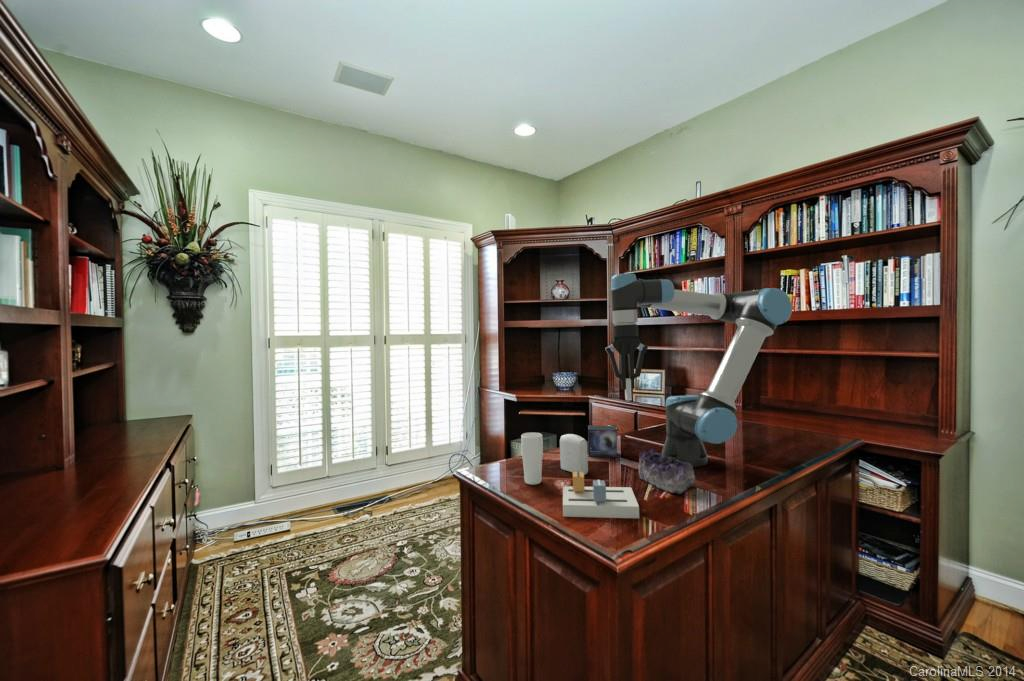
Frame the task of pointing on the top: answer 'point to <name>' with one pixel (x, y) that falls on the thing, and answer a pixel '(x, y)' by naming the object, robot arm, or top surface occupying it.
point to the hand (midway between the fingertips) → (628, 399)
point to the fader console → (600, 503)
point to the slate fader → (599, 490)
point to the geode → (665, 472)
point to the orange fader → (578, 481)
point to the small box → (602, 441)
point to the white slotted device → (573, 453)
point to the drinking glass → (532, 457)
